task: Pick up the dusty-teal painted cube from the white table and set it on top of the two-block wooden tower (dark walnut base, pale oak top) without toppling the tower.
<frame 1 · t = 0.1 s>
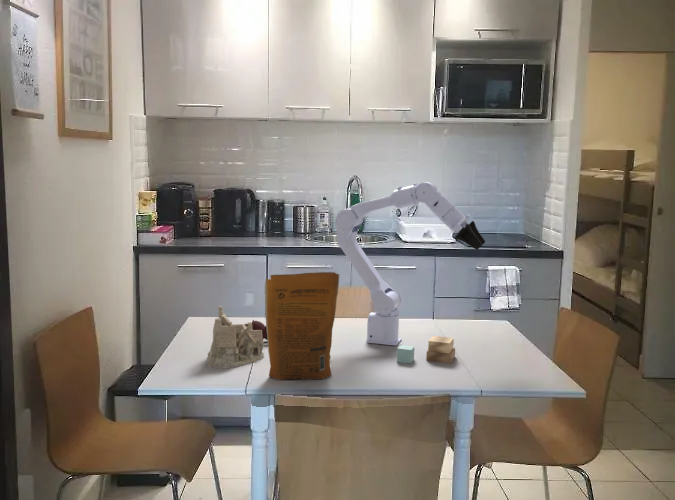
hand: (481, 245, 200), 32 cm above the table, fingers open, 7 cm apart
tower base: (440, 359, 198), on the table, touching tower top
teal cube: (405, 361, 195), on the table
tower top: (440, 349, 197), point 3 cm above the table, touching tower base
ceramic cottage: (235, 360, 193), on the table
icecream: (253, 342, 211), on the table
pancake mix bag: (300, 378, 178), on the table
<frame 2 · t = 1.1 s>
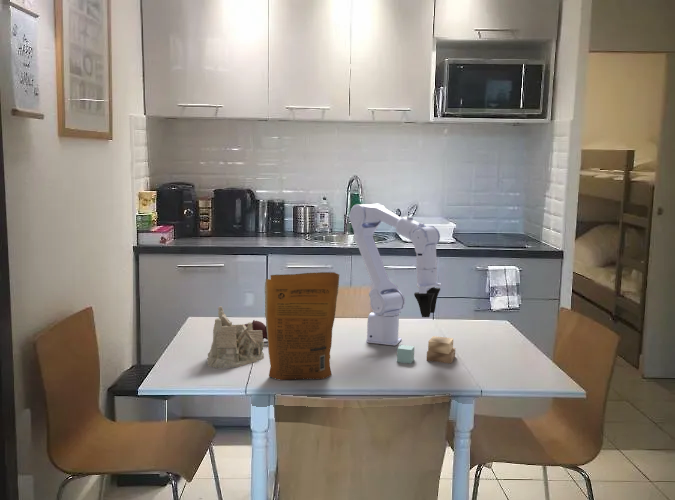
hand: (428, 314, 200), 12 cm above the table, fingers open, 7 cm apart
nothing on the table moved.
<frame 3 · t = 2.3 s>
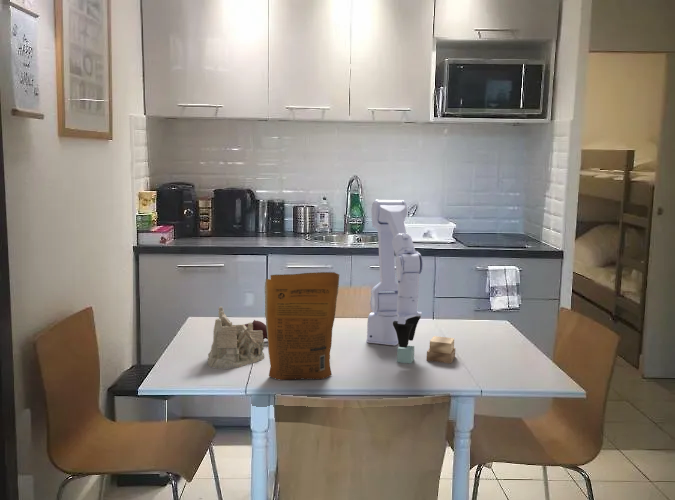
hand: (406, 343, 194), 5 cm above the table, fingers open, 7 cm apart
nothing on the table moved.
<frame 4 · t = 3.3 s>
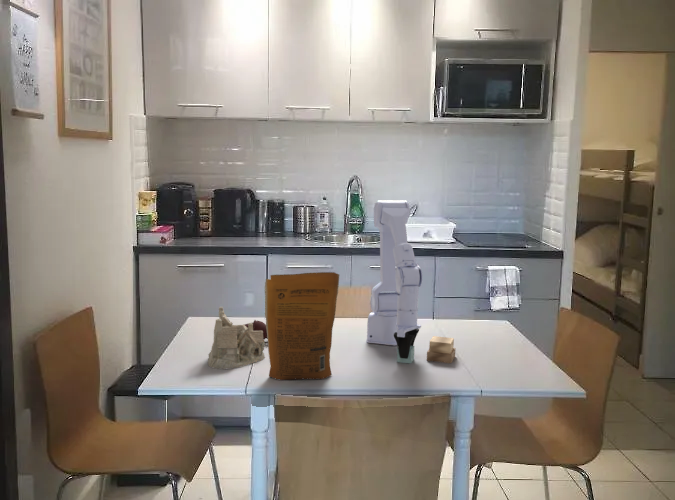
hand: (405, 355, 195), 1 cm above the table, fingers closed on teal cube, 4 cm apart
teal cube: (405, 360, 195), on the table, touching gripper
everything else where it was.
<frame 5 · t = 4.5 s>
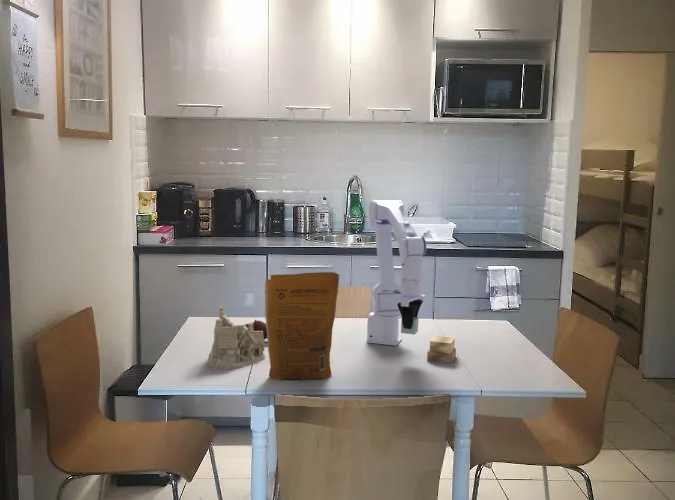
hand: (409, 326, 194), 10 cm above the table, fingers closed on teal cube, 4 cm apart
teal cube: (409, 332, 194), point 8 cm above the table, touching gripper
when the fingers open (8 cm above the table, at t = 5.9 s): teal cube stays where it is, resting on tower top.
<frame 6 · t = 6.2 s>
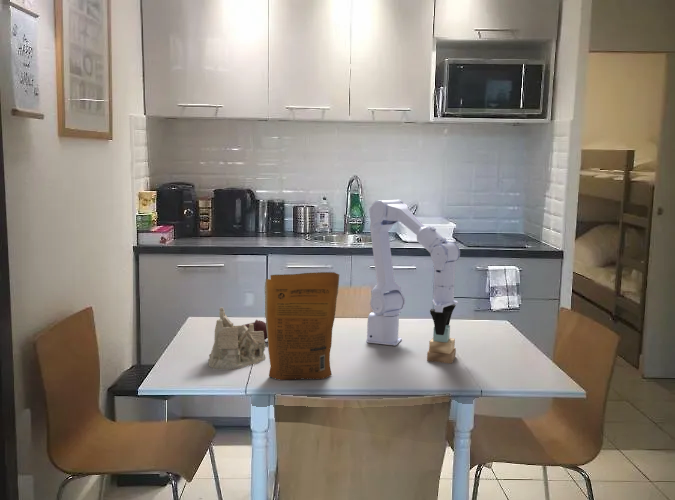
hand: (442, 331, 196), 8 cm above the table, fingers open, 6 cm apart
teal cube: (441, 339, 197), point 5 cm above the table, touching tower top
tower top: (441, 350, 197), point 2 cm above the table, touching teal cube, tower base
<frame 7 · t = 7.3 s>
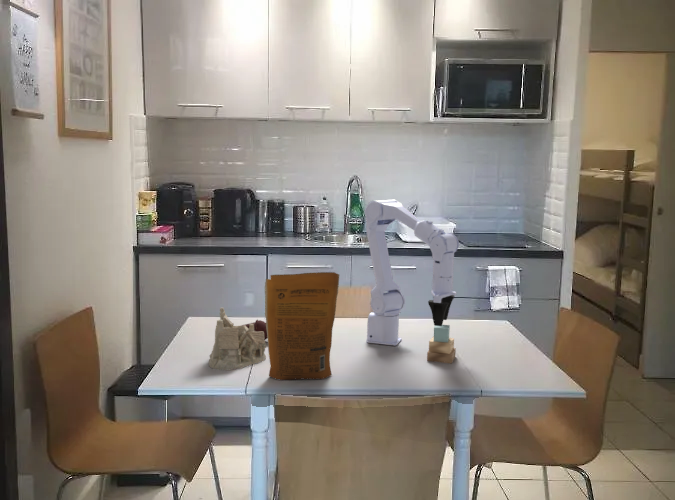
hand: (440, 322, 197), 10 cm above the table, fingers open, 7 cm apart
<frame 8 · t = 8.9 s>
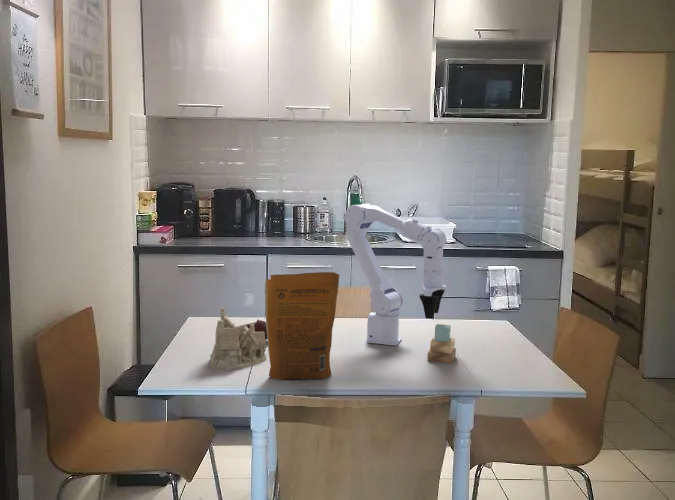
hand: (431, 315, 205), 10 cm above the table, fingers open, 7 cm apart
tower base: (441, 360, 197), on the table
tower top: (442, 349, 197), point 3 cm above the table, touching teal cube
at the end: teal cube 0.2 cm off-centre on the tower top, point 3.0 cm above the tower top's base; teal cube tilted 0°; tower top moved 0.5 cm from its start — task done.
